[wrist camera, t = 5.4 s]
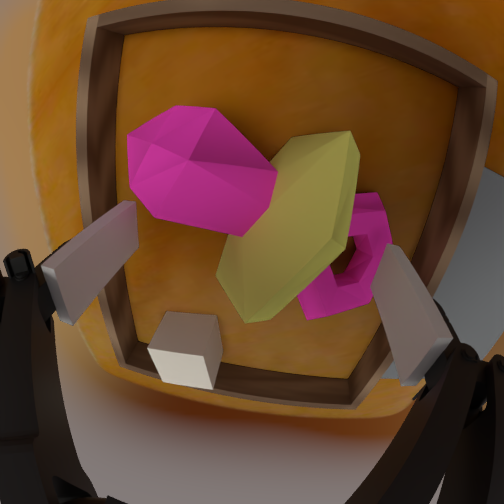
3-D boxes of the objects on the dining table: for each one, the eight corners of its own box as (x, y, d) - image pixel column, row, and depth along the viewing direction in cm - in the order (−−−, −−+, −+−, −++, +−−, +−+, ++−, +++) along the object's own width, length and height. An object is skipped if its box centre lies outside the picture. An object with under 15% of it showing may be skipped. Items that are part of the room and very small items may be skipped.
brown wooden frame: (115, 26, 13) (87, 18, 10) (469, 81, 12) (497, 81, 9) (131, 344, 29) (119, 366, 26) (352, 384, 28) (355, 409, 25)
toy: (306, 304, 24) (385, 375, 15) (100, 214, 16) (46, 273, 7) (361, 204, 23) (462, 234, 14) (175, 78, 15) (206, -7, 6)
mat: (457, 153, 15) (460, 155, 14) (558, 214, 14) (560, 215, 14) (359, 374, 27) (359, 377, 26) (468, 373, 26) (469, 375, 26)
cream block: (166, 310, 25) (147, 347, 21) (217, 314, 25) (203, 356, 20) (178, 345, 28) (162, 381, 23) (223, 350, 27) (212, 389, 23)
